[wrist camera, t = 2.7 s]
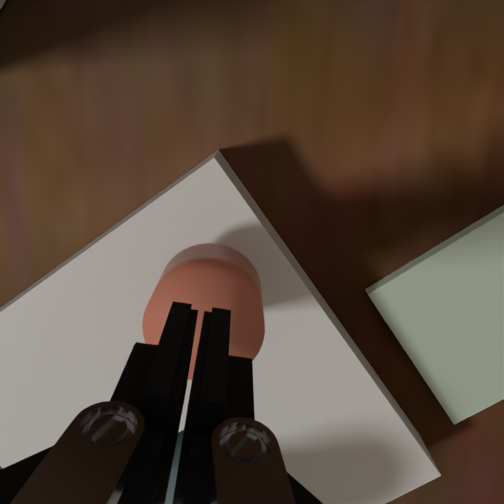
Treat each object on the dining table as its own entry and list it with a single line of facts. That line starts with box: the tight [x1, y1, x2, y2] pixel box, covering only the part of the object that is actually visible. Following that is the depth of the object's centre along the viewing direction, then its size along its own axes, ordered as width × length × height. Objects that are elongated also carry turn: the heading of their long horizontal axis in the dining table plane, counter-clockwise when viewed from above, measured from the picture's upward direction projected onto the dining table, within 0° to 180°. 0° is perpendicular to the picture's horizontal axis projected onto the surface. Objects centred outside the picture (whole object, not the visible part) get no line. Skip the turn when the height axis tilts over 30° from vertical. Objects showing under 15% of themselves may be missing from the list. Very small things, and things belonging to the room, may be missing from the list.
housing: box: [0, 150, 441, 504], centre depth 22 cm, size 20×18×3 cm
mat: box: [365, 205, 504, 425], centre depth 22 cm, size 10×10×1 cm
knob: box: [142, 243, 265, 380], centre depth 16 cm, size 4×4×6 cm
